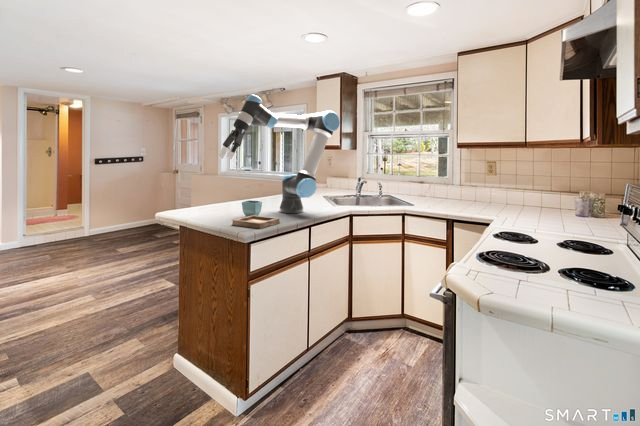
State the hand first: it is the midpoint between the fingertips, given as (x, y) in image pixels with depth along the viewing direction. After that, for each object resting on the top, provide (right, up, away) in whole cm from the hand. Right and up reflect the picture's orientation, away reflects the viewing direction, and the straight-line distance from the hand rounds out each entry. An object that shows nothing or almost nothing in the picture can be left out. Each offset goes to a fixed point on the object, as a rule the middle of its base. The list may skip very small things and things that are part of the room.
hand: (224, 157), depth 181 cm
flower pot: (+11, -31, +19) cm, 38 cm away
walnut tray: (+16, -34, 0) cm, 38 cm away
